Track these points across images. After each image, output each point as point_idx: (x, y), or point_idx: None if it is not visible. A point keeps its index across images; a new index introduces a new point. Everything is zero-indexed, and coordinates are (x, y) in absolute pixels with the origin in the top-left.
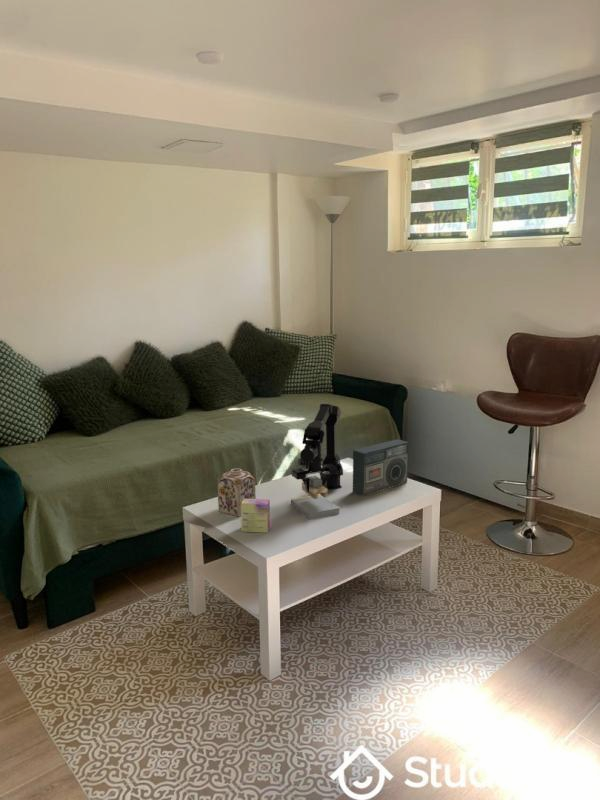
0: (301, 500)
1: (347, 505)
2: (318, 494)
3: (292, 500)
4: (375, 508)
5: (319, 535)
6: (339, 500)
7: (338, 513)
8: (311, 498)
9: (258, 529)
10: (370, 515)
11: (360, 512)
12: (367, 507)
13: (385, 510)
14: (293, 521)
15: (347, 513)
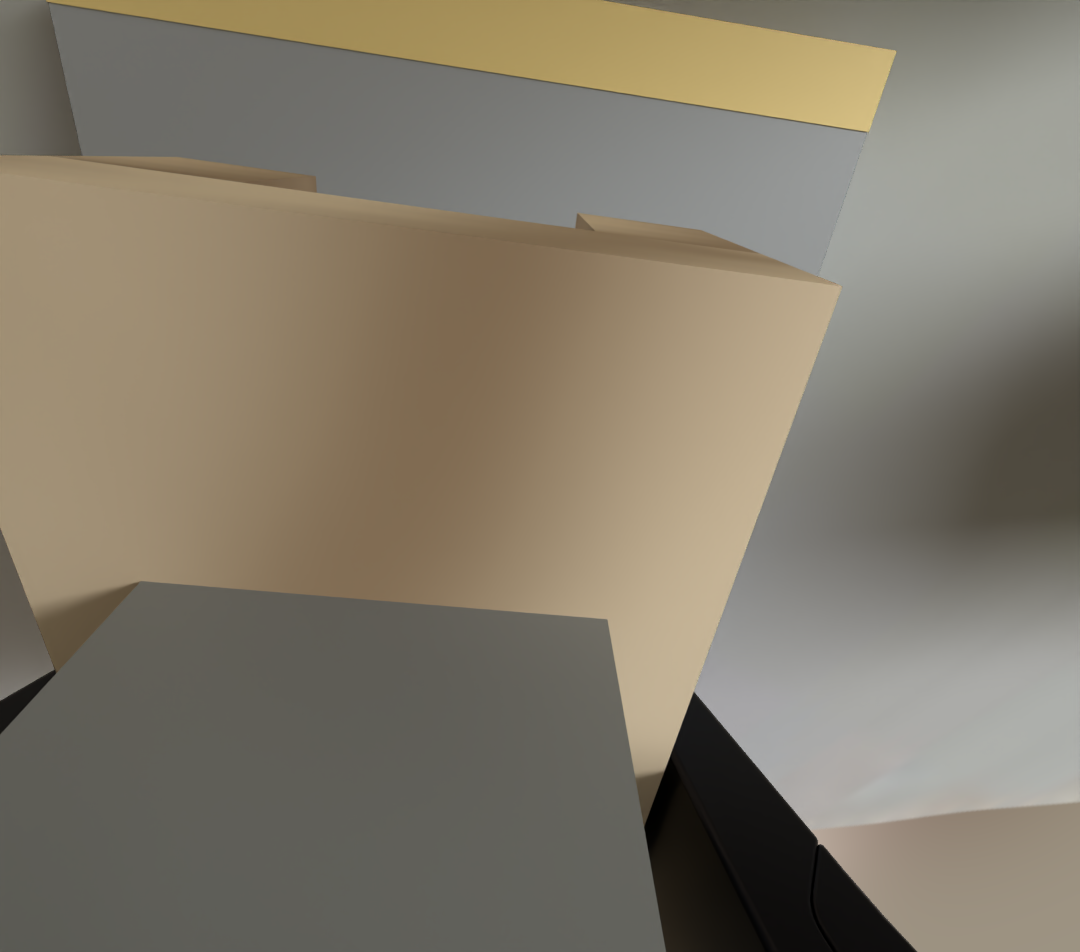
0: None
1: (924, 549)
2: (849, 68)
3: (60, 50)
4: (1047, 736)
5: None
6: (1027, 340)
7: None
8: (547, 213)
9: None
10: (851, 813)
11: (845, 741)
12: (1021, 689)
13: (1056, 797)
14: (28, 611)
15: (722, 707)
